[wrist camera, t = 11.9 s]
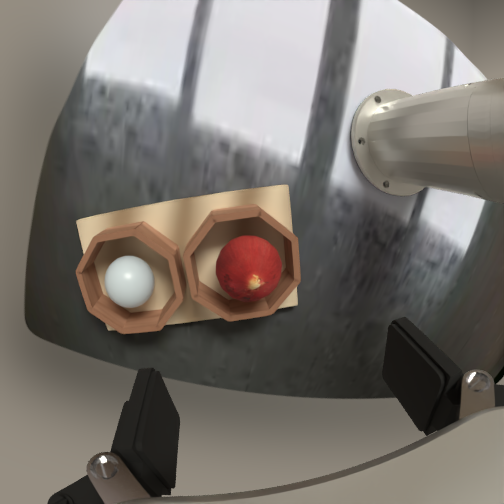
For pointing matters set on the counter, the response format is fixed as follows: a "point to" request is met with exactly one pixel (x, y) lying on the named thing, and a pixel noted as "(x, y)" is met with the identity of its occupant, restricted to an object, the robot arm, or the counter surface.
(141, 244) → the pot board
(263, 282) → the onion
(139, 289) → the white ball
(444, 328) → the counter surface
